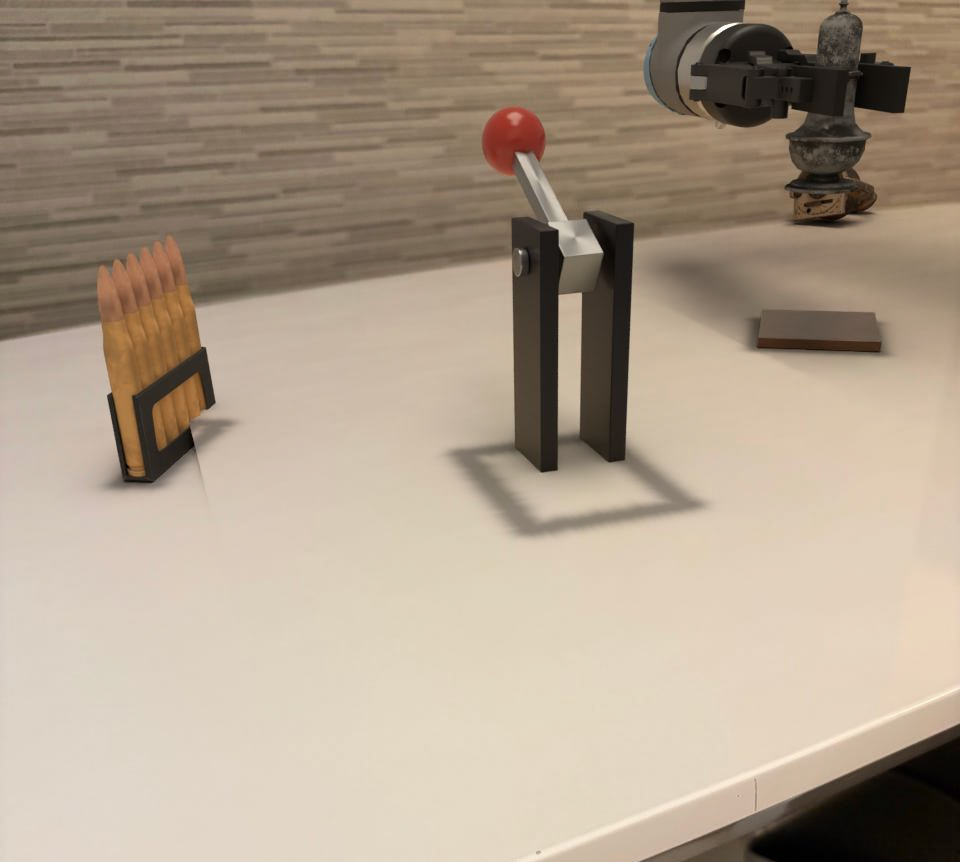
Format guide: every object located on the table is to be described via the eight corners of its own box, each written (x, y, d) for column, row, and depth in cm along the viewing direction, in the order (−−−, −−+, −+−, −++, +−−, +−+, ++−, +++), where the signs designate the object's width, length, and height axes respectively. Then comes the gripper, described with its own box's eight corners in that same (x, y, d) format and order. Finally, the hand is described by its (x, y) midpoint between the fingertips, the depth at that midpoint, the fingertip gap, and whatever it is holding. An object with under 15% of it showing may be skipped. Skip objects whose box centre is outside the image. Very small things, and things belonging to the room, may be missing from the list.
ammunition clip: (151, 482, 63) (109, 268, 57) (122, 481, 63) (77, 268, 57) (219, 422, 72) (190, 232, 66) (193, 421, 72) (161, 232, 66)
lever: (470, 154, 62) (477, 94, 59) (529, 149, 63) (539, 90, 60) (541, 306, 56) (552, 248, 53) (605, 299, 57) (620, 241, 54)
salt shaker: (811, 180, 82) (832, -4, 76) (880, 187, 78) (908, -6, 72) (763, 189, 79) (781, -2, 73) (833, 197, 75) (858, -4, 69)
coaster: (873, 322, 89) (875, 312, 88) (880, 351, 81) (881, 341, 81) (761, 318, 91) (761, 308, 90) (757, 347, 83) (758, 337, 83)
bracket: (463, 452, 66) (453, 210, 59) (600, 432, 68) (606, 197, 61) (530, 528, 56) (527, 248, 49) (688, 502, 58) (707, 231, 51)
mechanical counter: (765, 170, 129) (823, 158, 121) (847, 150, 134) (909, 137, 125) (772, 233, 132) (830, 225, 123) (852, 211, 136) (913, 202, 127)
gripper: (824, 119, 93) (977, 148, 73) (639, 129, 91) (744, 161, 71) (836, 19, 90) (1001, 21, 70) (643, 26, 87) (756, 30, 67)
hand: (871, 91), depth 70 cm, fingers closed on salt shaker, 4 cm apart
